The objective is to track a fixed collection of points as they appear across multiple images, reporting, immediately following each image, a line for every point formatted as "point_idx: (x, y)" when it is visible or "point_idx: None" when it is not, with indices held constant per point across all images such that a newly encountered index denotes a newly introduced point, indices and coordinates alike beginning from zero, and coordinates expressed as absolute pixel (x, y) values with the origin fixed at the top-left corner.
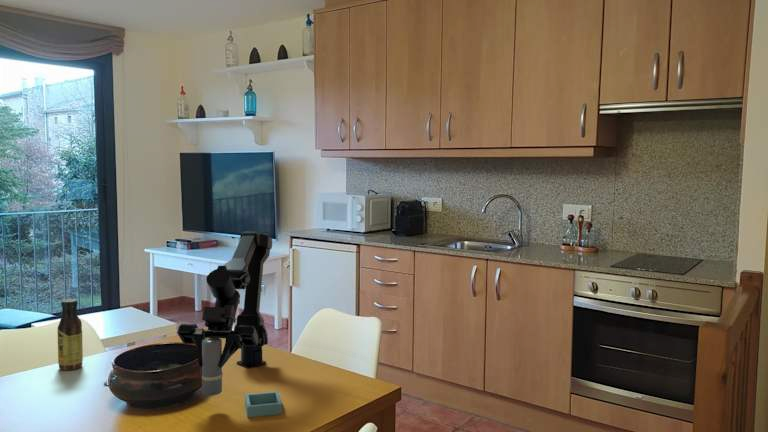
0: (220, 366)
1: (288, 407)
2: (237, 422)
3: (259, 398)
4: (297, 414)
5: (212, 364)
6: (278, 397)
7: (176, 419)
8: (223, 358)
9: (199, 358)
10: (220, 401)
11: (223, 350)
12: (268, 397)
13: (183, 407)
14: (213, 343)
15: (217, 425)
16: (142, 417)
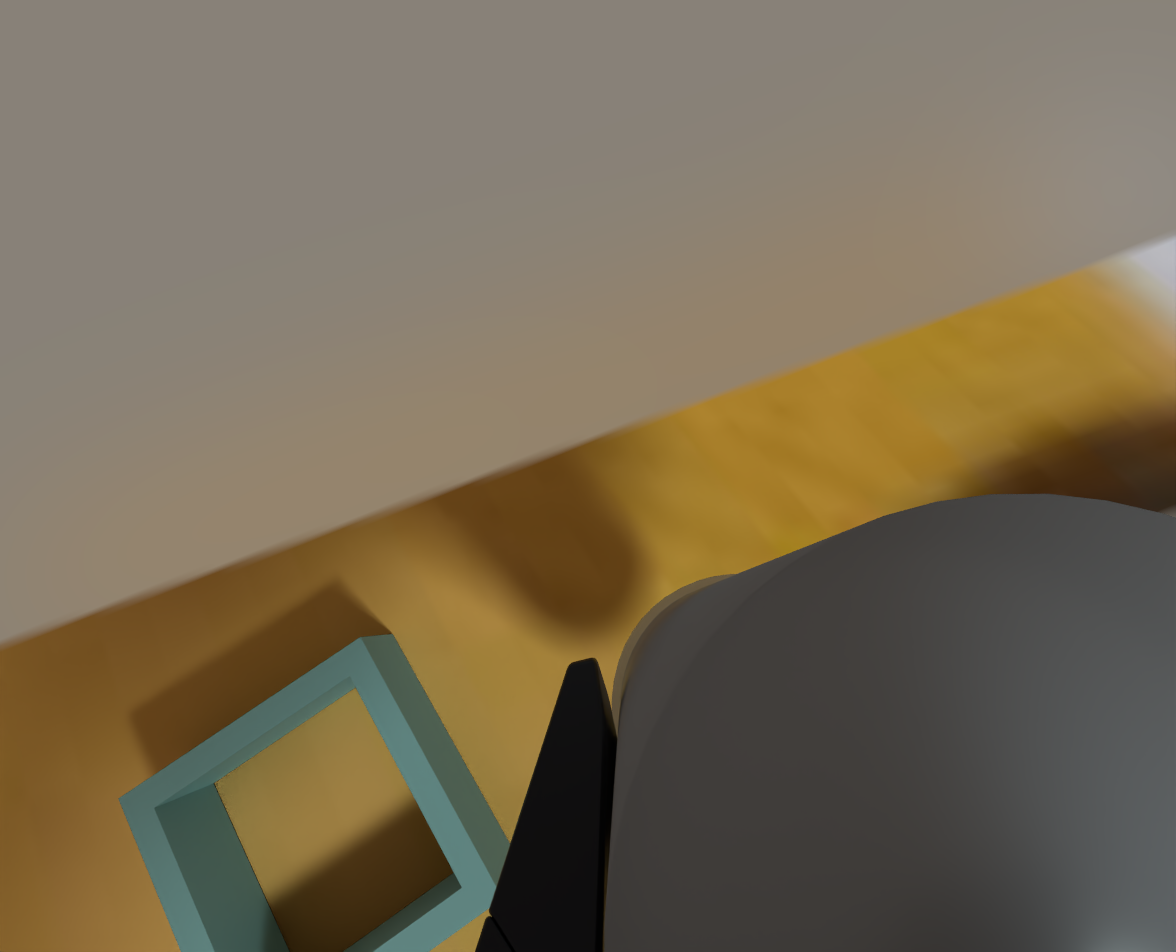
0: (575, 668)
1: None
2: (421, 544)
3: (393, 925)
4: (76, 803)
5: (684, 601)
6: (186, 922)
7: (821, 452)
8: (542, 767)
9: None
10: None
11: (587, 944)
12: None
13: None
14: (735, 606)
15: (519, 464)
16: (1055, 403)
